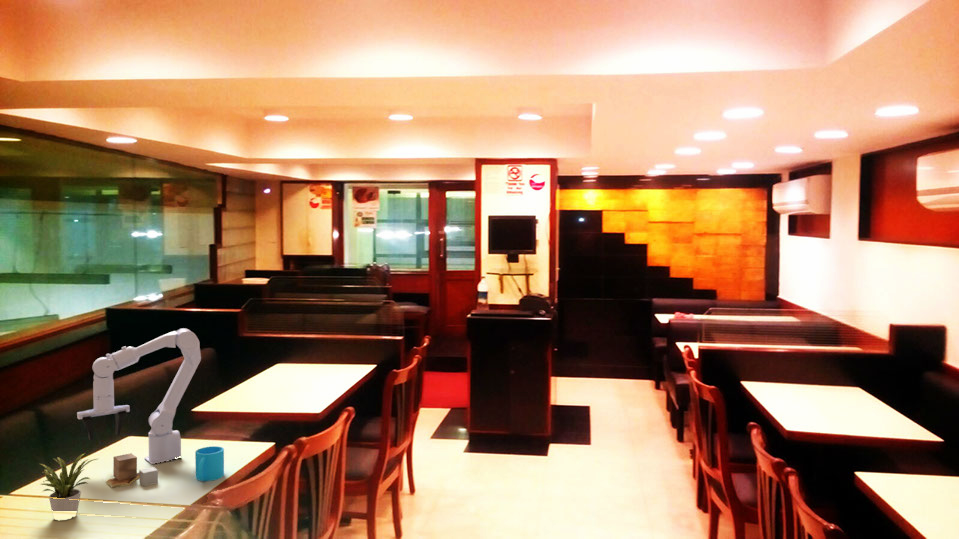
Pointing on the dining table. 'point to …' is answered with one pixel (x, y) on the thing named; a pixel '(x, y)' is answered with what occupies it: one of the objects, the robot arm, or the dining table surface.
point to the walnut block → (125, 466)
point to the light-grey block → (148, 476)
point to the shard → (121, 481)
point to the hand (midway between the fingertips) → (104, 437)
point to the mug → (209, 463)
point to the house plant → (65, 486)
